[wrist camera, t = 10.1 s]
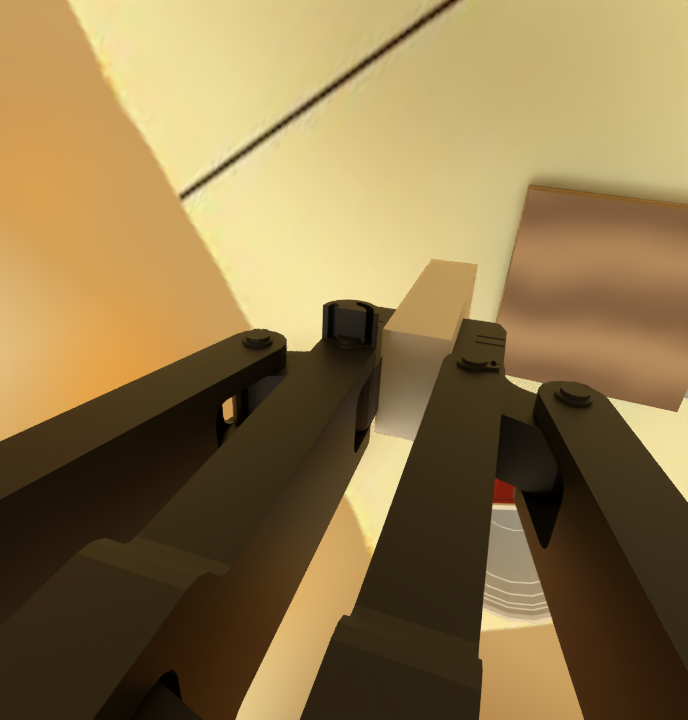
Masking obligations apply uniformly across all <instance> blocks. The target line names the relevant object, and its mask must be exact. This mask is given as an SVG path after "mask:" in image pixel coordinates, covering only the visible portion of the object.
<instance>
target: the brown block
mask: <svg viewBox="0 0 688 720" xmlns="http://www.w3.org/2000/svg"><path fill="white" fill-rule="evenodd" d="M496 323H498V324H500V325H501V326H502V327H503V328H504V329H505V330H506V331H507V336H506V346H505V356H504V367H505V375H509V376H513V377H518V378H523V379H527V380H532V381H536V382H541V383H546V382H550V381H568V382H572V381H575V382H579V383H581V384H585V385H588V386H590V387H591V388H593V389H595V390H596V391H598V392H600V393H602V394H603V395H604V396H605V397H610V398H615V399H619V400H624V401H628V402H633V403H638V404H642V405H647V406H651V407H656V408H661V409H665V410H670V411H674V412H678V409H679V407H680V405H681V403H682V400H683V398H684V396H685V394H686V391H687V389H688V205H684V204H676V203H668V202H660V201H652V200H644V199H636V198H628V197H620V196H612V195H604V194H596V193H588V192H581V191H573V190H565V189H557V188H549V187H541V186H533V185H529V186H528V191H527V195H526V199H525V203H524V207H523V211H522V216H521V220H520V224H519V228H518V232H517V236H516V241H515V245H514V249H513V253H512V257H511V261H510V266H509V270H508V274H507V278H506V282H505V286H504V291H503V295H502V299H501V303H500V307H499V311H498V315H497V320H496Z"/></svg>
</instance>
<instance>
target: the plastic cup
mask: <svg viewBox="0 0 688 720" xmlns="http://www.w3.org/2000/svg"><path fill="white" fill-rule="evenodd" d="M513 490H514V486H512V485H510V484H508V483H505V482H503V481H501V480H499V479H497V478H495V485H494V495H493V506H492V516H491V526H490V537H489V547H488V558H487V568H486V578H485V589H484V599H483V610H482V611H485V612H487V613H490V614H492V615H494V616H497V617H499V618H502V619H504V620H507V621H514V622H523V623H532V624H537V623H542V622H547V621H552V618H551V614H550V611H549V608H548V605H547V602H546V599H545V596H544V593H543V590H542V586H541V583H540V580H539V577H538V574H537V571H536V568H535V565H534V562H533V558H532V555H531V552H530V549H529V546H528V543H527V540H526V537H525V534H524V530H523V527H522V524H521V521H520V518H519V515H518V512H517V509H516V506H515V502H514V499H513Z"/></svg>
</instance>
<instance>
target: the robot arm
mask: <svg viewBox="0 0 688 720" xmlns="http://www.w3.org/2000/svg"><path fill="white" fill-rule="evenodd" d="M476 272H477V265H476V264H468V263H460V262H452V261H444V260H436V259H431V261H430V262H429V264H428V265H427V266H426V268H425V269H424V271H423V272H422V274H421V275H420V277H419V278H418V279H417V281H416V282H415V284H414V285H413V287H412V288H411V289H410V291H409V292H408V294H407V295H406V297H405V298H404V300H403V301H402V302H401V304H400V305H399V307H398V308H397V310H396V309H390V308H383V307H377V306H375V305H373V304H371V303H368V302H364V301H359V300H336V301H331V302H328V303H326V304H324V305H323V327H322V339H321V340H320V341H319V342H318V343H317V344H316V345H315V346H314V348H313V349H312V350H311V351H306V352H301V351H287V339H286V338H285V337H284V336H283V335H281V334H279V333H277V332H273V331H269V330H267V329H262V330H261V329H253V330H252V331H245V332H242V333H238V334H236V335H233V336H231V337H229V338H227V339H225V340H222V341H220V342H218V343H216V344H214V345H212V346H209V347H207V348H205V349H203V350H200V351H198V352H196V353H194V354H192V355H190V356H187V357H185V358H183V359H181V360H178V361H176V362H174V363H172V364H170V365H168V366H165V367H163V368H161V369H159V370H156V371H154V372H152V373H150V374H148V375H146V376H143V377H141V378H139V379H137V380H134V381H132V382H130V383H128V384H126V385H123V386H121V387H119V388H117V389H115V390H113V391H110V392H108V393H106V394H104V395H101V396H99V397H97V398H95V399H93V400H90V401H88V402H86V403H84V404H82V405H79V406H77V407H75V408H73V409H71V410H68V411H66V412H64V413H62V414H60V415H57V416H55V417H53V418H51V419H49V420H46V421H44V422H42V423H40V424H38V425H35V426H33V427H31V428H29V429H27V430H25V431H23V432H20V433H18V434H16V435H14V436H11V437H9V438H7V439H5V440H2V441H0V720H235V719H236V716H237V713H238V711H239V708H240V706H241V704H242V701H243V699H244V697H245V695H246V693H247V691H248V689H249V687H250V685H251V683H252V681H253V679H254V677H255V675H256V673H257V671H258V669H259V667H260V664H261V663H262V660H263V658H264V656H265V654H266V652H267V650H268V648H269V646H270V644H271V642H272V640H273V638H274V636H275V634H276V632H277V629H278V627H279V626H280V624H281V622H282V620H283V617H284V615H285V613H286V611H287V609H288V607H289V605H290V603H291V601H292V599H293V597H294V595H295V593H296V591H297V589H298V587H299V585H300V583H301V581H302V579H303V576H304V575H305V572H306V570H307V568H308V566H309V564H310V562H311V560H312V558H313V556H314V554H315V552H316V550H317V548H318V546H319V544H320V542H321V540H322V538H323V536H324V533H325V532H326V530H327V527H328V525H329V523H330V521H331V519H332V517H333V515H334V513H335V511H336V509H337V507H338V505H339V503H340V501H341V499H342V497H343V495H344V493H345V491H346V489H347V487H348V484H349V482H350V480H351V478H352V476H353V474H354V472H355V470H356V468H357V466H358V464H359V462H360V460H361V458H362V456H363V454H364V452H365V450H366V448H367V446H368V444H369V438H370V426H371V423H372V421H373V419H374V417H375V415H376V418H375V429H374V432H376V433H380V434H385V435H389V436H394V437H399V438H403V439H408V440H412V441H414V443H413V445H412V448H411V451H410V454H409V457H408V459H407V462H406V465H405V468H404V470H403V473H402V476H401V479H400V481H399V484H398V487H397V490H396V493H395V495H394V498H393V501H392V504H391V506H390V509H389V512H388V515H387V518H386V520H385V523H384V526H383V529H382V531H381V534H380V537H379V540H378V542H377V545H376V548H375V551H374V554H373V556H372V559H371V562H370V565H369V568H368V570H367V573H366V576H365V578H364V581H363V584H362V587H361V590H360V593H359V595H358V598H357V601H356V603H355V606H354V609H353V611H352V613H351V615H350V616H347V615H343V616H342V618H341V619H340V620H339V622H338V624H337V626H336V628H335V631H334V633H333V635H332V637H331V640H330V642H329V645H328V648H327V650H326V653H325V655H324V658H323V661H322V664H321V666H320V668H319V671H318V674H317V676H316V679H315V681H314V684H313V687H312V689H311V692H310V695H309V697H308V700H307V702H306V705H305V708H304V710H303V713H302V715H301V718H300V720H479V712H480V700H481V687H482V671H483V670H482V660H481V659H479V657H478V654H479V641H480V630H481V620H482V610H483V599H484V589H485V578H486V568H487V558H488V547H489V537H490V526H491V516H492V506H493V495H494V485H495V478H497V479H499V480H501V481H503V482H505V483H508V484H510V485H512V486H514V490H513V499H514V502H515V506H516V509H517V512H518V515H519V518H520V521H521V524H522V527H523V530H524V534H525V537H526V540H527V543H528V546H529V549H530V552H531V555H532V558H533V562H534V565H535V568H536V571H537V574H538V577H539V580H540V583H541V586H542V590H543V593H544V596H545V599H546V602H547V605H548V608H549V611H550V614H551V618H552V621H553V624H554V627H555V630H556V633H557V636H558V639H559V642H560V645H561V649H562V652H563V655H564V658H565V661H566V664H567V667H568V670H569V674H570V676H571V680H572V683H573V686H574V689H575V692H576V695H577V698H578V701H579V705H580V708H581V710H582V714H583V717H584V720H688V502H687V501H686V500H685V498H684V497H683V496H682V494H681V493H680V492H679V490H678V489H677V488H676V487H675V485H674V484H673V483H672V481H671V480H670V479H669V477H668V476H667V475H666V474H665V472H664V471H663V470H662V468H661V467H660V466H659V464H658V463H657V462H656V461H655V459H654V458H653V457H652V455H651V454H650V453H649V451H648V450H647V449H646V447H645V446H644V445H643V444H642V442H641V441H640V440H639V438H638V437H637V436H636V434H635V433H634V432H633V431H632V429H631V428H630V427H629V425H628V424H627V423H626V421H625V420H624V419H623V418H622V416H621V415H620V414H619V412H618V411H617V410H616V408H615V407H614V406H613V405H612V403H611V402H610V401H609V399H607V398H606V397H605V396H604V395H603V394H602V393H600V392H598V391H596V390H595V389H593V388H591V387H590V386H588V385H585V384H581V383H579V382H575V381H572V382H568V381H550V382H546V383H543V384H542V385H541V386H540V387H539V388H538V392H537V394H535V393H532V392H529V391H527V390H524V389H522V388H519V387H518V386H516V385H514V384H512V383H511V382H510V381H509V380H508V379H507V378H506V377H505V367H504V356H505V346H506V336H507V331H506V330H505V329H504V328H503V327H502V326H501V325H500V324H498V323H491V322H484V321H478V320H471V319H469V314H470V308H471V302H472V296H473V290H474V284H475V278H476ZM231 397H232V403H233V417H231V418H230V419H228V420H224V418H223V407H222V404H223V403H224V402H225V401H226V400H227V399H229V398H231Z"/></svg>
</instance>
